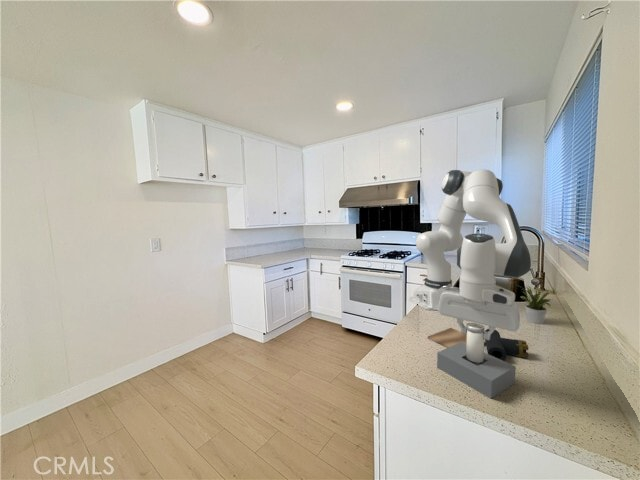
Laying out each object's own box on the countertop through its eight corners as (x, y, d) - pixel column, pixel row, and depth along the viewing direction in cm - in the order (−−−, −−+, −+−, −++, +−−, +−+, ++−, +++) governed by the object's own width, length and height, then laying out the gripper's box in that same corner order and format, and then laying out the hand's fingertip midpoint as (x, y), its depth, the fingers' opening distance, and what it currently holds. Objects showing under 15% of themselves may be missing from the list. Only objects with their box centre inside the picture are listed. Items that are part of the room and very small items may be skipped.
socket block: (437, 367, 81) (437, 352, 80) (460, 356, 86) (461, 342, 86) (490, 398, 67) (491, 380, 66) (514, 383, 72) (515, 366, 72)
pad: (427, 338, 99) (427, 336, 99) (450, 329, 106) (450, 327, 106) (462, 355, 87) (462, 353, 87) (486, 344, 93) (486, 342, 93)
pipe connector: (522, 332, 91) (532, 352, 78) (521, 346, 92) (532, 369, 79) (483, 327, 97) (487, 345, 84) (483, 340, 97) (487, 360, 84)
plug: (464, 359, 76) (464, 326, 75) (467, 353, 79) (468, 321, 78) (482, 364, 73) (483, 330, 72) (485, 357, 76) (485, 325, 75)
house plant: (507, 320, 112) (508, 284, 110) (514, 312, 121) (516, 278, 119) (550, 331, 101) (553, 291, 100) (555, 320, 110) (557, 284, 109)
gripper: (435, 286, 78) (434, 329, 80) (519, 300, 65) (517, 352, 66) (442, 282, 83) (441, 323, 85) (521, 294, 69) (519, 342, 71)
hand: (475, 336), depth 75 cm, fingers closed on plug, 4 cm apart
